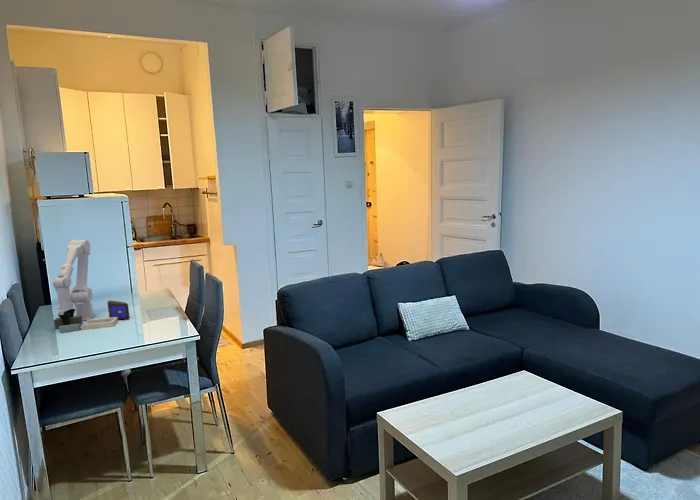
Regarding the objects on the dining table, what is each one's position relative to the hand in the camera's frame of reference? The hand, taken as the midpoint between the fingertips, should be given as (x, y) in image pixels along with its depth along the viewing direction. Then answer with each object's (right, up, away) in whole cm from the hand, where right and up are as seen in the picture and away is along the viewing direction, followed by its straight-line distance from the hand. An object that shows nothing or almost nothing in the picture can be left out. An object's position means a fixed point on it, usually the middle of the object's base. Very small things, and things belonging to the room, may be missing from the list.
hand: (68, 324), depth 254 cm
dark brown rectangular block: (0, -1, 0) cm, 1 cm away
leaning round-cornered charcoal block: (+21, +1, +12) cm, 24 cm away
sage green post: (+5, -2, -8) cm, 10 cm away
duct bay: (+16, -1, 0) cm, 16 cm away
